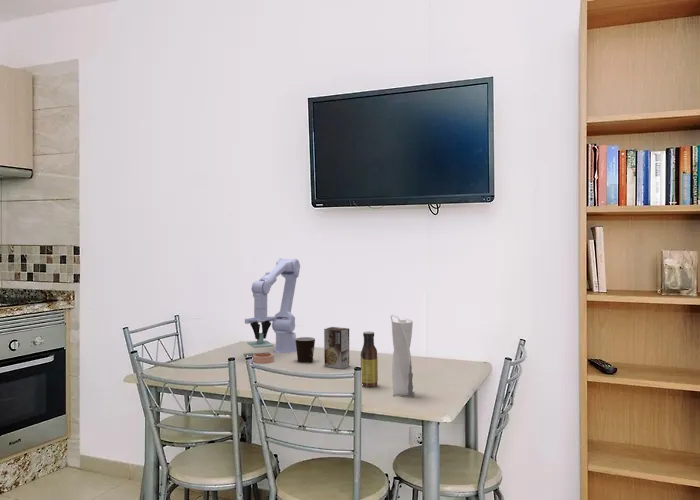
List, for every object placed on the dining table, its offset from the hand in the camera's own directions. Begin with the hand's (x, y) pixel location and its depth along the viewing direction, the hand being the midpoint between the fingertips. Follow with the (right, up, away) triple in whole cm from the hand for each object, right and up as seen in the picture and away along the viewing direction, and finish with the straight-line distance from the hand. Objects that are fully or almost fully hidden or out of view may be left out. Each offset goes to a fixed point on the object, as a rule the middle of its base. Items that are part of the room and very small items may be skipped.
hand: (260, 338), depth 259 cm
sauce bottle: (+47, -11, -43) cm, 64 cm away
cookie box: (+34, -10, -12) cm, 37 cm away
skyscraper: (+58, -12, -53) cm, 79 cm away
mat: (-2, -9, +7) cm, 12 cm away
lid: (0, -3, 0) cm, 3 cm away
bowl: (+2, -9, -4) cm, 11 cm away
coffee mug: (+21, -10, -2) cm, 23 cm away
